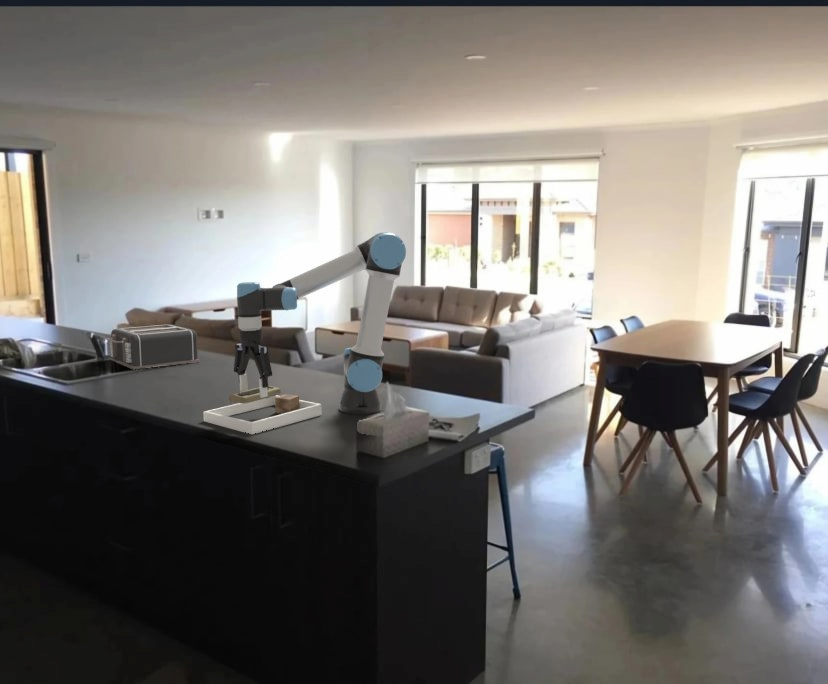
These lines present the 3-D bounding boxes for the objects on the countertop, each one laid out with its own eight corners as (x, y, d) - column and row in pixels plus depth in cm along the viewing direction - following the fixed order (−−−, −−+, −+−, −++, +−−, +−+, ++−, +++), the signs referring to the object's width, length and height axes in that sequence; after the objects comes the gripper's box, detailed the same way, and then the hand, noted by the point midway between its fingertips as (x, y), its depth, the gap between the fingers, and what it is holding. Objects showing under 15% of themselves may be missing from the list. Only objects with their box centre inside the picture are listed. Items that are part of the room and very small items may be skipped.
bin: (321, 415, 258) (321, 404, 257) (252, 435, 232) (251, 423, 232) (274, 405, 272) (274, 394, 271) (203, 423, 246) (203, 411, 245)
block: (299, 412, 262) (299, 396, 261) (289, 416, 257) (289, 399, 256) (285, 410, 265) (285, 394, 264) (275, 414, 259) (275, 397, 258)
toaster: (101, 365, 349) (99, 329, 346) (173, 356, 372) (172, 323, 369) (124, 374, 326) (122, 336, 324) (200, 365, 350) (198, 329, 347)
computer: (245, 404, 239) (244, 394, 238) (229, 403, 244) (228, 393, 243) (281, 394, 251) (280, 385, 251) (265, 394, 256) (264, 384, 256)
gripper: (281, 329, 240) (284, 396, 243) (237, 325, 252) (240, 389, 256) (264, 332, 234) (267, 401, 237) (220, 328, 246) (223, 393, 250)
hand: (253, 395), depth 247 cm, fingers closed on computer, 9 cm apart
